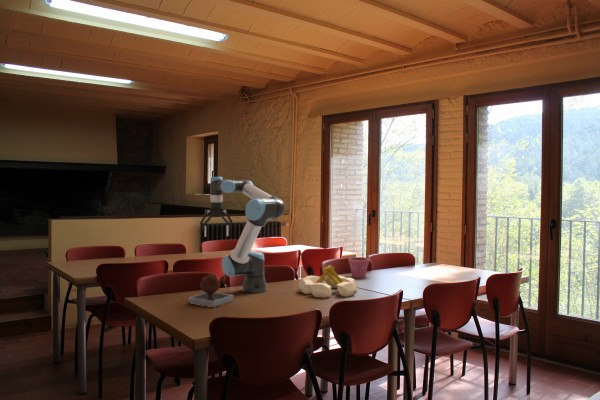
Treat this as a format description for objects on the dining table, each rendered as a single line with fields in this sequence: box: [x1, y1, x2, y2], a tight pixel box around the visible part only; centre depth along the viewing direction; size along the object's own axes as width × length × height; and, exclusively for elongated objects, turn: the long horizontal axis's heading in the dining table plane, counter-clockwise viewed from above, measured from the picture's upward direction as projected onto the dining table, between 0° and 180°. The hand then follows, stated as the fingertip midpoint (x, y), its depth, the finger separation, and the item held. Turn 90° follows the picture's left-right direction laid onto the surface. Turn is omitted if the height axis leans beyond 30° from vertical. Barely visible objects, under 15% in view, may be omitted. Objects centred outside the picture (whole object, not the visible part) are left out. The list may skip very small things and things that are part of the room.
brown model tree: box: [199, 272, 221, 301], centre depth 266 cm, size 11×11×15 cm
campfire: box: [298, 264, 358, 299], centre depth 296 cm, size 35×34×17 cm
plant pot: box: [348, 257, 370, 279], centre depth 345 cm, size 14×14×13 cm
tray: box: [187, 292, 235, 307], centre depth 266 cm, size 17×17×4 cm
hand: (216, 236), depth 305 cm, fingers open, 13 cm apart
